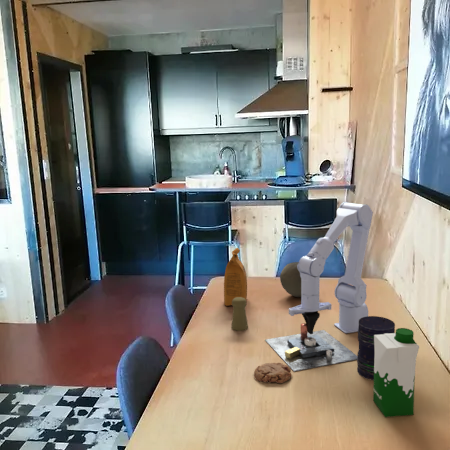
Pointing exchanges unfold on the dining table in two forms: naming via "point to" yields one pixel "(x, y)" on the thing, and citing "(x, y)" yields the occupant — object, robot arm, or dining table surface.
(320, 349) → the metal parts fixture
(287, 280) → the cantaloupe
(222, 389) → the dining table surface
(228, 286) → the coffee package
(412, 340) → the milk carton
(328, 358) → the dowel pin
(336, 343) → the post base
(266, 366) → the cookie
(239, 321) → the olive green shaker
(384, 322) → the storage jar
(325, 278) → the dining table surface
